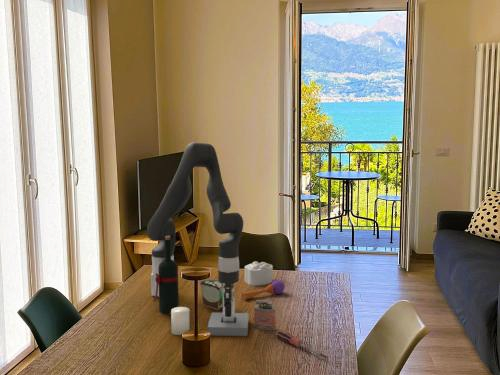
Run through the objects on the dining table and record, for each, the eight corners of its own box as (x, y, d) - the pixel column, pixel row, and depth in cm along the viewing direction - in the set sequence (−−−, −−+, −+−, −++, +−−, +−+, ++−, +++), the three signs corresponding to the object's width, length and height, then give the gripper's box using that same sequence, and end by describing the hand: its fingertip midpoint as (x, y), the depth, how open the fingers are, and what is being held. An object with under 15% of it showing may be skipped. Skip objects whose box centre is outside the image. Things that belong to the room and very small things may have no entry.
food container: (231, 307, 216) (231, 283, 215) (220, 311, 212) (220, 286, 210) (211, 300, 225) (210, 276, 223) (200, 303, 220) (199, 280, 219)
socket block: (207, 335, 188) (207, 327, 188) (211, 320, 202) (211, 312, 202) (247, 335, 188) (247, 327, 188) (248, 320, 202) (248, 313, 201)
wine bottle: (150, 309, 213) (148, 235, 209) (174, 305, 218) (173, 233, 214) (157, 316, 206) (155, 240, 202) (181, 311, 211) (180, 237, 207)
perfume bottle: (276, 327, 196) (276, 300, 195) (273, 330, 193) (274, 303, 191) (255, 324, 199) (255, 298, 197) (252, 327, 195) (252, 301, 194)
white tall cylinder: (222, 327, 193) (222, 300, 192) (223, 323, 197) (223, 296, 196) (233, 327, 193) (233, 300, 192) (234, 323, 197) (234, 296, 196)
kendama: (239, 288, 227) (278, 278, 237) (241, 302, 228) (280, 291, 237) (245, 290, 222) (285, 279, 232) (248, 304, 222) (288, 292, 232)
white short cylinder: (170, 334, 189) (169, 313, 188) (173, 327, 195) (172, 306, 194) (188, 335, 188) (187, 313, 187) (190, 328, 195) (190, 307, 194)
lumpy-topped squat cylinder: (242, 280, 252) (242, 262, 251) (266, 276, 258) (266, 259, 257) (252, 286, 243) (252, 268, 242) (277, 282, 249) (277, 264, 247)
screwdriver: (331, 361, 169) (331, 352, 169) (324, 363, 168) (324, 354, 167) (280, 335, 189) (280, 327, 188) (273, 337, 187) (273, 329, 187)
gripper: (220, 262, 199) (220, 307, 202) (216, 273, 185) (216, 321, 188) (240, 263, 199) (240, 307, 201) (237, 274, 185) (237, 321, 187)
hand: (228, 313), depth 194 cm, fingers closed on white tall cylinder, 4 cm apart
